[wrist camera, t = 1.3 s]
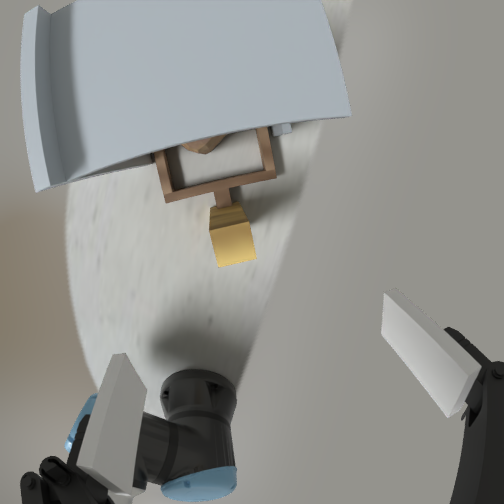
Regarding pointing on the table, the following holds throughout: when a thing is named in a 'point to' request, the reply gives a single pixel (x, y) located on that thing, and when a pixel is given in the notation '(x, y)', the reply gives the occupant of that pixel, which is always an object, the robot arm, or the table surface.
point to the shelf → (168, 78)
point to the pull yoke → (224, 204)
